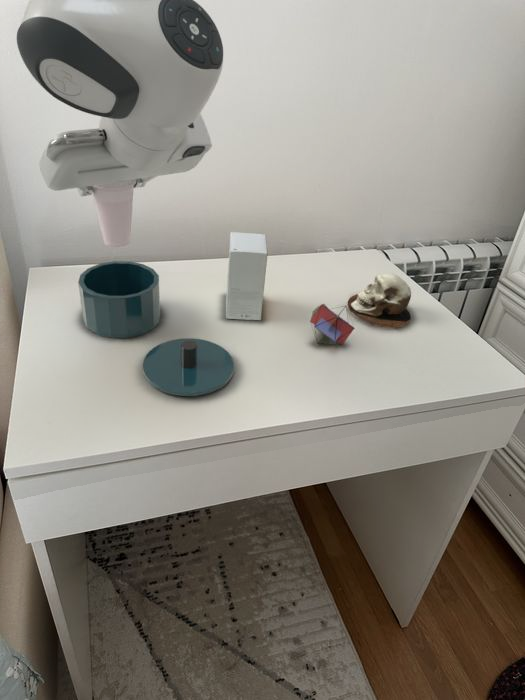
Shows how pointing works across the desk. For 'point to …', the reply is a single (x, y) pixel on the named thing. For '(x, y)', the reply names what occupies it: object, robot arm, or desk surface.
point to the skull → (383, 302)
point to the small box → (246, 276)
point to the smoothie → (115, 211)
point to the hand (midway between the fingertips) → (110, 186)
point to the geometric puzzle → (331, 324)
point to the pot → (120, 299)
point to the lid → (188, 367)
